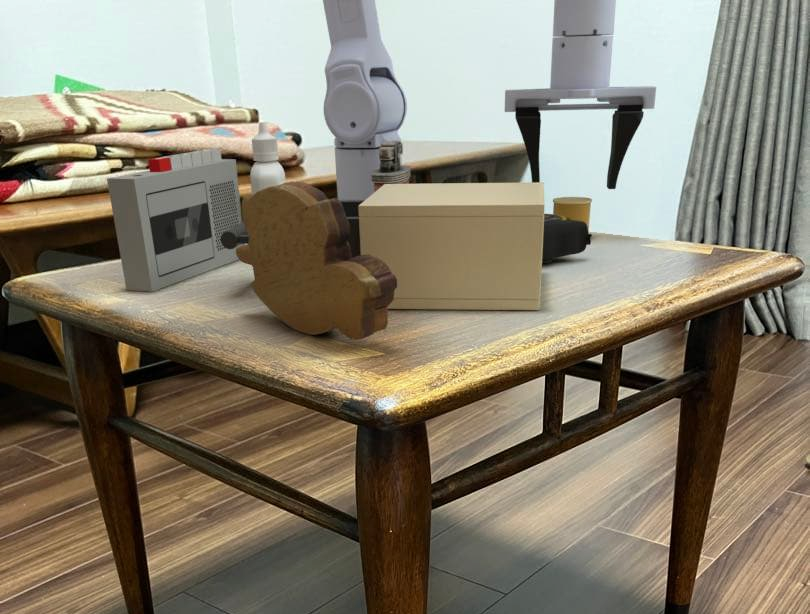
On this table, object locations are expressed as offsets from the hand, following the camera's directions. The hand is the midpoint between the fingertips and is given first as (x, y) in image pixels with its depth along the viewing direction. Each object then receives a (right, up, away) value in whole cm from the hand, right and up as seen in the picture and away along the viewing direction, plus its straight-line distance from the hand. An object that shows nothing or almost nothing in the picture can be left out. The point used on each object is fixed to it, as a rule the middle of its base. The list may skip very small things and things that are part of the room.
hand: (573, 188), depth 90 cm
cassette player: (-37, -11, -8) cm, 40 cm away
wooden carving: (-24, -21, -27) cm, 42 cm away
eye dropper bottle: (-31, -7, -1) cm, 31 cm away
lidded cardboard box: (-13, -16, -18) cm, 27 cm away
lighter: (-19, -6, 0) cm, 20 cm away
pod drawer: (-23, -14, -17) cm, 32 cm away
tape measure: (-4, -10, -8) cm, 13 cm away
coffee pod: (0, -4, +2) cm, 5 cm away
